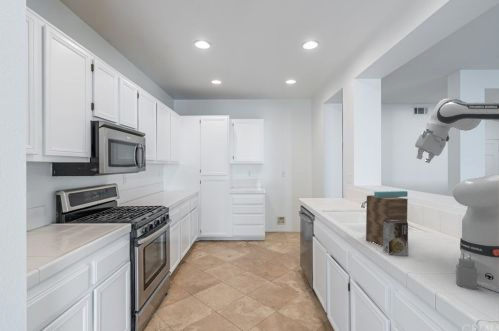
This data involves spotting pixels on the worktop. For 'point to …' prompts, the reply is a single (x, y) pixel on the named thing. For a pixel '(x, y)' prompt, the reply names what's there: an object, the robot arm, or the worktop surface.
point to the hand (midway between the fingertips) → (422, 160)
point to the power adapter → (466, 273)
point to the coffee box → (395, 237)
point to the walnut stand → (383, 215)
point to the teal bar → (390, 194)
